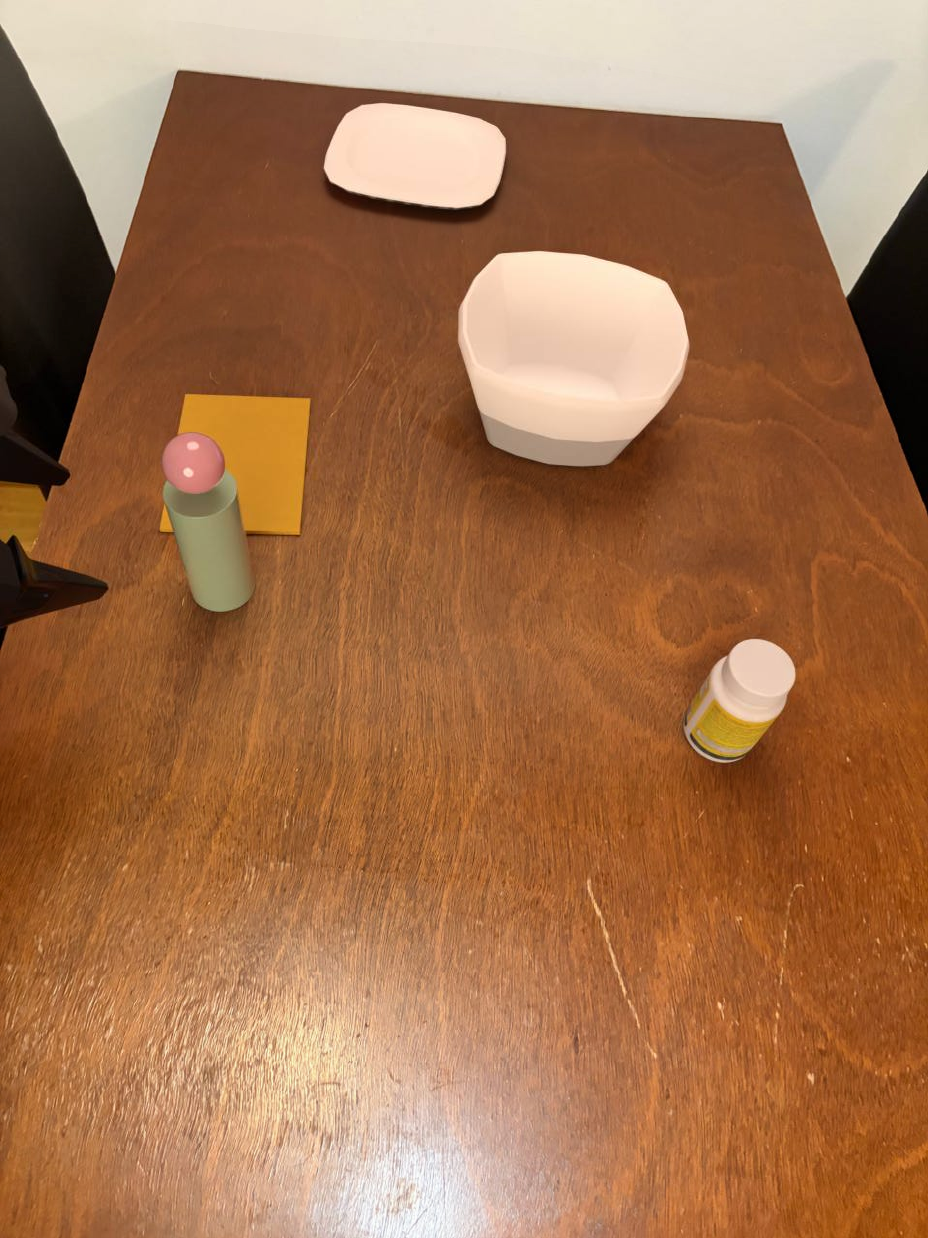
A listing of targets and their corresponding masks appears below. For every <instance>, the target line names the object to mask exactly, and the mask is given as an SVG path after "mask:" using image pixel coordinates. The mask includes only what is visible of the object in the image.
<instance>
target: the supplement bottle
mask: <svg viewBox="0 0 928 1238" xmlns="http://www.w3.org/2000/svg"><path fill="white" fill-rule="evenodd" d="M795 681H796V668H795V665H794V662H793V660H792V659H791V657H790V656H789V654H788V653H787V652H786V651H785V650H784V649H782V647H780V646H779V645H777V644H775V643H773V642H771V641H769V640H765V639H759V638H749V639H746V640H742V641H740V642H739V643H737V644H736V645H735V646H733V648H731V650H730V652H729V653H728V655H725V656H724V657H722V658H721V659H719V660H718V661H717V662H716V663H715V664H714V665H713V667H712V668H711V670H710V672H709V673H708V675H707V676H706V678H705V680H704V682H703V683H702V685H701V687H700V688H699V690H698V691H697V693H696V695H695V696H694V698H693V700H692V701H691V703H690V704H689V706H688V708H687V709H686V712H685V714H684V716H683V721H682V722H683V724H682V725H683V732H684V736H685V737H686V739H687V742H688V743H689V744H690V746H691V747H692V748H693V750H695V752H697V753H698V754H699V755H700V756H702V757H704V758H705V759H707V760H710V761H713V762H716V763H722V764H723V763H724V764H725V763H732V762H733V763H734V762H737V761H739V760H741V759H743V758H744V757H746V756H747V755H748V754H749V753H750V752H751V751H752V749H753V748H754V746H756V744H757V743H758V742H759V740H760V739H761V738H762V737H763V735H764V734H765V733H766V731H767V730H768V729H769V728H770V726H772V724H773V722H774V721H775V720H776V719H777V718H778V717H779V715H780V714H781V713H782V711H783V710H784V708H785V705H786V703H787V699H788V694H789V692H790V691H791V689H792V687H793V686H794V684H795Z"/></svg>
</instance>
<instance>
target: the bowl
mask: <svg viewBox="0 0 928 1238" xmlns="http://www.w3.org/2000/svg"><path fill="white" fill-rule="evenodd" d="M457 312H458V313H457V343H458V345H459V346H458V347H459V350H460V353H461V356H462V359H463V363H464V366H465V369H466V373H467V376H468V378H469V381H470V384H471V388H472V392H473V395H474V399H475V403H476V406H477V409H478V411H479V414H480V417H481V421H482V425H483V429H484V432H485V436H486V440H487V441H488V443H489V444H490V445H491V446H493V447H494V448H498V449H500V450H502V451H504V452H507V453H508V454H512V455H514V456H516V457H521V458H524V459H528V460H531V461H535V462H539V463H543V464H546V465H556V466H569V467H571V466H572V467H592V466H593V467H594V466H595V467H596V466H606V465H609V464H611V463H612V462H613V461H614V460H615V459H616V458H617V457H618V456H619V455H620V454H621V453H622V452H623V451H624V450H625V449H626V447H627V446H628V445H630V443H631V442H632V441H633V440H634V439H635V438H636V437H637V436H638V435H639V434H640V433H641V432H642V430H644V429H645V428H646V427H647V426H648V424H649V423H650V422H651V421H652V420H653V419H654V418H655V417H656V416H657V415H658V414H659V413H660V412H661V410H663V408H664V407H665V406H666V405H667V403H668V402H669V400H670V399H671V397H672V395H674V393H675V391H676V389H677V388H678V386H679V385H680V384H681V382H682V381H683V377H684V373H685V370H686V365H687V361H688V356H689V352H690V340H689V336H688V330H687V326H686V320H685V315H684V312H683V309H682V308H681V306H680V304H679V302H678V300H677V298H676V296H675V294H674V293H673V291H672V289H671V287H670V285H669V283H668V282H666V281H665V280H663V279H661V278H659V277H656V276H654V275H651V274H649V273H646V272H644V271H642V270H638V269H637V268H635V267H632V266H630V265H626V264H622V263H619V262H613V261H610V260H606V259H602V258H598V257H594V256H590V255H586V254H579V253H578V254H577V253H567V252H556V251H541V250H535V251H533V250H532V251H518V252H507V253H506V252H505V253H498V254H497V255H495V256H494V257H493V258H492V259H491V260H490V262H488V263H487V265H485V267H484V268H483V269H482V270H481V271H480V272H479V273H478V274H477V275H476V276H475V277H474V278H473V279H472V282H471V284H470V285H469V288H468V290H467V292H466V294H465V296H464V298H463V300H462V302H461V304H460V306H459V308H458V310H457Z"/></svg>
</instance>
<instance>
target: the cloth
mask: <svg viewBox="0 0 928 1238" xmlns="http://www.w3.org/2000/svg"><path fill="white" fill-rule="evenodd" d="M183 399H184V400H183V403H182V409H181V415H180V420H179V425H178V426H179V427H178V429H177V430H178V431H177V435H179V434H182V433H186V432H197V433H202V434H204V435H207V436H208V437H210V438H212V439H213V440H214V441H215V442H216V443H217V444H218V445H219V446H220V448H221V450H222V452H223V454H224V457H225V464H226V465H225V469H226V470H227V471H228V472H229V473H230V474H231V475H232V476H233V477H234V479H235V480H236V483H237V488H238V493H239V498H240V504H241V509H242V514H243V520H244V525H245V530H246V535H249V534H250V535H285V536H286V535H289V536H290V535H291V536H300V535H301V530H302V518H303V507H304V506H303V505H304V493H305V479H306V466H307V454H308V441H309V429H310V417H311V404H312V400H311V398H309V397H308V398H306V397H283V396H281V397H280V396H254V395H251V396H250V395H222V394H200V393H199V394H198V393H197V394H195V393H185V394H184V398H183ZM161 513H162V514H161V519H160V523H159V532H160V533H173V529H172V526H171V523H170V519H169V516H168V512H167V509H166V506H165V502H164V503H163V509H162V512H161Z"/></svg>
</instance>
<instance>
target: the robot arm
mask: <svg viewBox="0 0 928 1238" xmlns="http://www.w3.org/2000/svg"><path fill="white" fill-rule="evenodd" d="M6 378H7V373H6V369H5V368H4V367H3V366H2V365H1V364H0V482H5V483H14V484H24V485H33V486H48V487H49V486H52V487H62V486H64V485H65V484H66V483H67V481H68V480H69V479H70V477H71V472H70V470H69V468H67V467H66V466H64V465H63V464H61V463H60V462H59V461H57V460H56V459H54V458H53V457H51V456H50V455H49V454H47V453H45V452H44V451H43V450H41V449H39V448H38V447H37V446H35V445H34V444H33V443H32V442H30V441H29V440H27V439H25V438H24V437H23V436H21V435H20V434H18V433H17V432H16V431H15V430H13V429H12V428H13V426H14V425H15V423H16V421H17V418H18V408H17V404H16V402H15V401H14V399H13V398H12V396H11V392H10V390H9V389H10V388H9V386H8V383H7V379H6ZM108 590H109V585H108V583H107V582H106V581H104V580H101V579H98V578H96V577H93V576H91V575H88V574H86V573H81V572H78V571H75V570H71V569H67V568H64V567H60V566H57V565H53V564H50V563H47V562H43V561H39V560H36V559H32V558H30V557H29V556H28V554H27V553H26V551H25V549H24V547H23V545H22V544H21V542H20V540H19V538H18V537H17V535H15V534H12V535H11V536H10V537H9V539H8V540H7V541H6V542H4V541H3V540H2V539H0V629H3V628H6V627H8V626H11V625H13V624H16V623H19V622H22V621H24V620H25V621H26V620H28V619H31V618H34V617H35V618H36V617H39V616H43V615H46V614H49V613H54V612H57V611H61V610H65V609H68V608H72V607H76V606H80V605H84V604H88V603H91V602H95V601H98V600H100V599H102V598H103V597H104V596H105V594H106V593H108Z"/></svg>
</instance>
